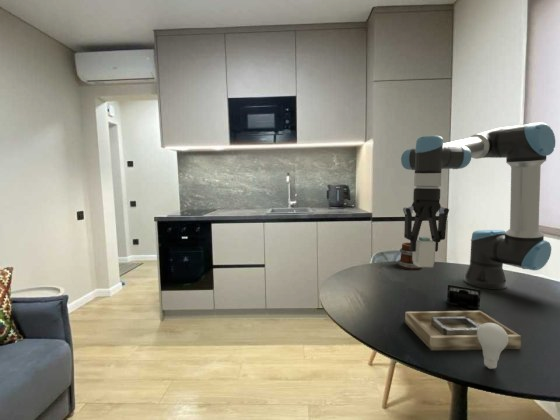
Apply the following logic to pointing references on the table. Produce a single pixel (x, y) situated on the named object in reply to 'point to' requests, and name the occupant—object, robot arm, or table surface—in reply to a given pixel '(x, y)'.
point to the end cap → (463, 298)
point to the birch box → (437, 341)
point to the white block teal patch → (425, 252)
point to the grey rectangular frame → (462, 320)
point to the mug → (407, 258)
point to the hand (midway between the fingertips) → (423, 261)
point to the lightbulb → (492, 342)
